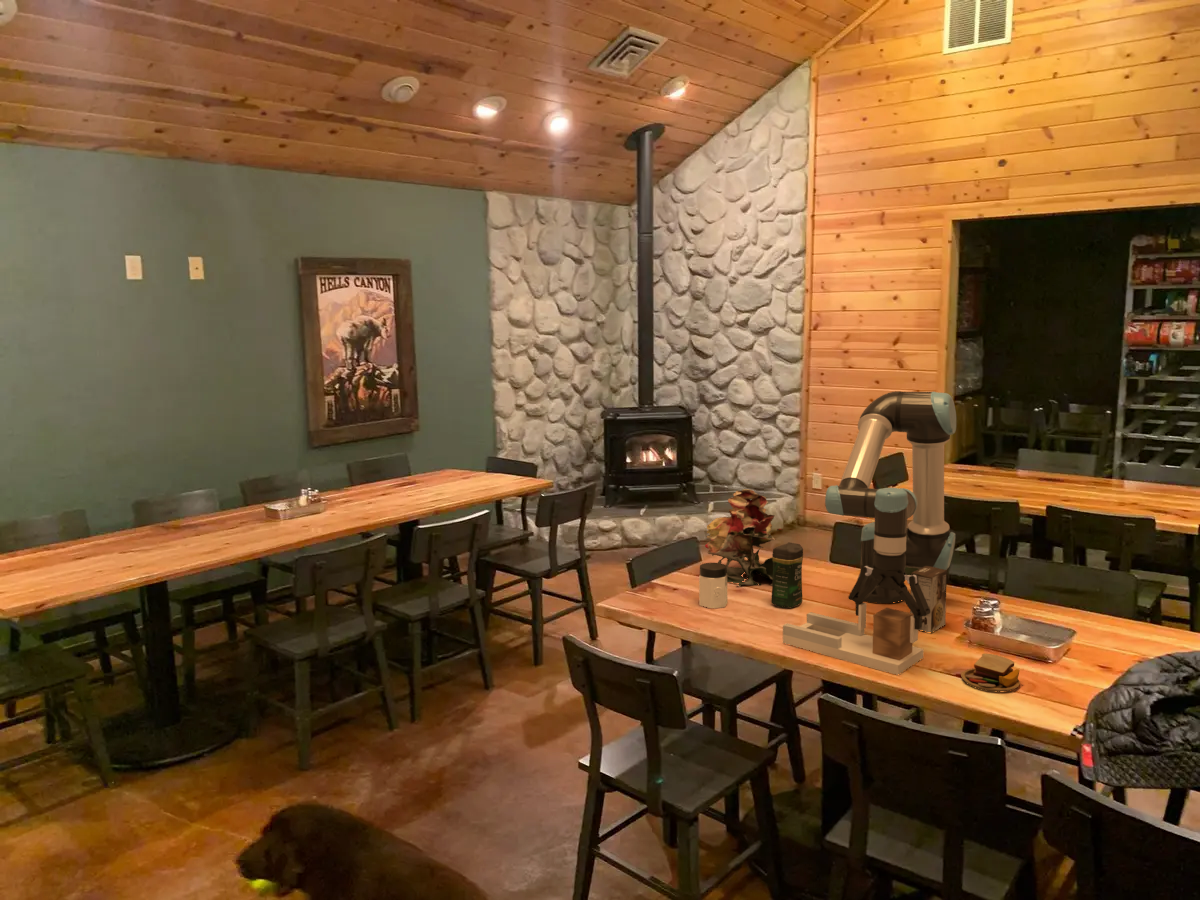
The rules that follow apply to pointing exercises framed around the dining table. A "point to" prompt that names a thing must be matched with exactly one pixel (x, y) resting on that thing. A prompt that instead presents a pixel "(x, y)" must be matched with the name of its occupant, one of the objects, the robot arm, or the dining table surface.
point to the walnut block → (892, 633)
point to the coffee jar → (787, 575)
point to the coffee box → (933, 596)
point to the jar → (713, 585)
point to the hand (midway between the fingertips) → (887, 635)
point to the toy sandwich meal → (992, 674)
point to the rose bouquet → (742, 537)
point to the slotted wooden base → (844, 643)
